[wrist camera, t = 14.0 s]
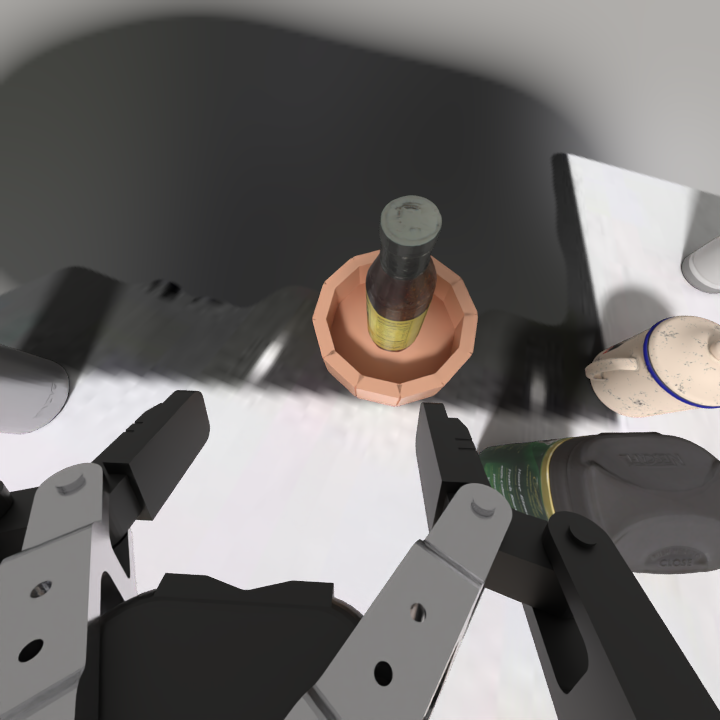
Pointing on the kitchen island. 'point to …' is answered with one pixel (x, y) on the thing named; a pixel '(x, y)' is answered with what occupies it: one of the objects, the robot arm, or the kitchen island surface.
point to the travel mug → (704, 267)
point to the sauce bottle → (402, 272)
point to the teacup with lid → (661, 369)
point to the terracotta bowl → (383, 368)
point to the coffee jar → (621, 493)
